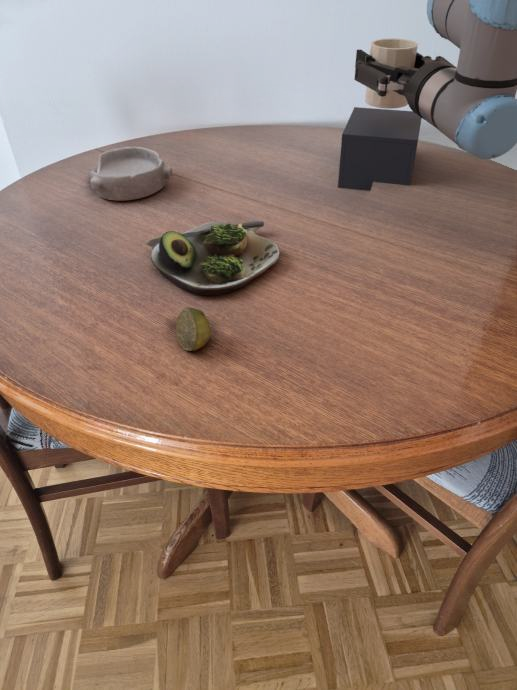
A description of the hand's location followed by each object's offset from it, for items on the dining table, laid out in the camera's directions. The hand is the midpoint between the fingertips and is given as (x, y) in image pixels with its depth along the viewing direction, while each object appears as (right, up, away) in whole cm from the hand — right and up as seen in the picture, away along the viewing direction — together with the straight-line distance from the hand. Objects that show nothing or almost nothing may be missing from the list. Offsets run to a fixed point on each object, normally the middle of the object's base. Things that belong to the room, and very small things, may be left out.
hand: (380, 56), depth 94 cm
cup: (+1, -8, 0) cm, 8 cm away
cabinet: (+1, -18, +9) cm, 20 cm away
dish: (-44, -21, +7) cm, 49 cm away
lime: (-29, -50, -27) cm, 64 cm away
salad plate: (-28, -38, -14) cm, 49 cm away
